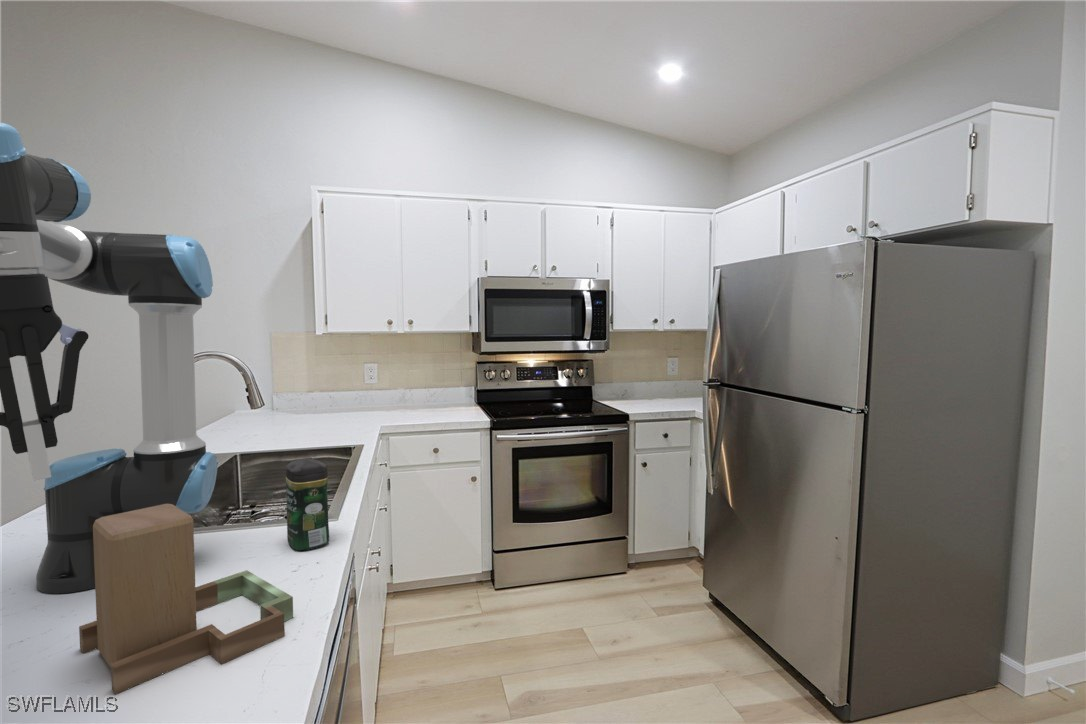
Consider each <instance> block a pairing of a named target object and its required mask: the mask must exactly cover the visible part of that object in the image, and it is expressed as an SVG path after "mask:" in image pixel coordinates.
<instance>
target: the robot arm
mask: <svg viewBox="0 0 1086 724" xmlns="http://www.w3.org/2000/svg"><path fill="white" fill-rule="evenodd" d="M91 202H92V192H91V189H90V186H89V184H88V182H87V181H86V179H85V177H84V176H82V175H81V174H80V172H79V171H77V170H76V169H74V168H72V167H71V166H70V165H69V166H68V165H67V164H64V163H63V162H62V163H61V162H60V161H56V160H55V159H54V158H50V157H46V158H45V157H41V156H37V155H32V154H29V153H27V150H26V148H25V146H24V143H23V140H22V137H21V134H20V133H19V132H18V130H17V129H16V128H15V127H14V126H12V125H10V124H8V123H4V122H1V121H0V397H1V402H2V406H3V411H4V412H3V411H0V426H1V427H5V428H6V429H7V430H8V434H9V439H10V444H11V448H12V451H13V452H14V453H15V454H16V455H18V454H23V453H27V457H28V461H29V467H30V472H31V475H32V479H33V482H36V481H40V480H44V487H43V491H44V495H45V496H44V497H45V498H44V499H45V514H46V517H45V518H46V531H47V533H46V534H47V545H46V547H45V549H44V553H43V554H42V558H41V560H40V563H39V567H38V569H37V571H36V575H35V581H36V589H37V590H38V591H39V592H40V593H45V594H68V593H75V592H76V593H77V592H81V591H88V590H91V589H95V568H94V544H93V524H94V522H95V520H97V519H99V518H101V517H104V516H109V515H114V514H119V513H124V512H129V511H133V510H138V509H143V508H148V507H153V506H158V505H163V504H173V505H174V506H176V507H178V508H179V509H181V510H182V511H184V512H186V513H187V514H194V513H199V512H201V511H202V510H204V509H205V508H206V507H207V506H208V504H209V502H210V500H211V498H212V495H213V492H214V489H215V486H216V480H217V476H218V475H217V474H218V460H217V455H216V453H213V452H211V451H207V449H206V447H207V445H206V441H204V440H203V439H202V438H200V437H199V436H198V434H197V415H196V413H197V412H196V411H197V409H196V406H197V405H196V380H195V379H196V377H195V375H196V372H195V370H196V368H195V341H194V340H195V338H194V337H195V335H194V333H195V332H194V315H195V314H196V313H197V312H198V311H199V310H200V309H202V307H203V302H202V301H203V300H202V299H206V298H210V296H211V295H212V293H213V286H214V285H213V273H212V269H211V265H210V261H209V258H208V255H207V253H206V251H205V249H204V247H203V245H202V244H201V243H200V242H199V241H198V240H197V239H195V238H192V237H189V236H181V235H173V234H169V233H168V234H151V233H125V232H110V231H91V230H89V231H87V230H80V229H78V228H76V227H73V226H71V225H68V224H67V225H66V224H61V222H67V221H72V220H76V219H78V218H80V217H81V216H83V215H84V214H85V213H86V212H87V210H88V209H89V207H90V204H91ZM49 279H50V280H52V281H55V282H57V283H60V284H63V285H66V286H70V287H73V288H76V289H80V290H84V291H88V292H92V293H96V294H101V295H108V296H109V295H110V296H123V297H124V296H127V297H128V298H127V302H128V303H127V304H128V306H129V307H130V308H131V309H132V310H134V311H135V312H136V313H137V315H138V324H139V325H138V326H139V353H140V354H139V356H140V358H139V359H140V381H141V382H140V384H141V386H140V387H141V388H140V389H141V413H142V417H141V419H142V441H140V443H138V444H137V446H135V447H134V449H133V456H127V452H126V451H125V449H123V448H110V449H102V450H96V451H95V450H94V451H91V452H87V453H86V452H85V453H81V454H77V455H73V456H69V457H65V458H63V459H59V460H57V461H54V462H52V463H51V464H50V462H49V457H48V454H47V449H49V448H55V447H57V446H58V442H59V440H58V437H57V435H58V434H57V432H56V425H55V420H56V419H57V418H58V417H60V416H61V415H64V414H69V413H70V412H71V411H72V410H73V405H74V399H75V391H76V390H75V389H76V385H77V384H76V383H77V374H78V368H79V362H80V361H79V360H80V353H81V350H82V349H83V347H84V345H85V344H86V342H87V341H88V339H89V334H88V332H86V331H85V330H83V329H81V328H75V327H72V326H69V325H67V324H65V323H63V321H62V318H61V317H60V316H59V315H58V314H57V313H56V311H55V308H54V304H53V299H52V294H51V288H50V284H49ZM58 333H59V334H60V342H61V343H62V344H63V345H64V347H63V351H62V358H61V365H60V373H59V380H58V385H57V386H58V388H57V395H56V400H55V401H56V402H53V403H51V399H50V395H49V389H48V385H47V379H46V374H45V369H44V364H43V358H42V353H43V352H44V351H45V350H46V349H47V347H48V346H49V345H50V343H52V341H53V339H55V338H56V335H57V334H58ZM14 357H15V358H16V357H24V359H25V363H26V368H27V373H28V377H29V382H30V387H31V392H32V396H33V397H32V398H33V401H34V407H35V411H36V415H37V419H36V418H35V419H29V420H23V418H22V414H21V413H22V412H21V408H20V404H19V398H18V394H17V388H16V384H15V379H14V374H13V370H12V363H11V358H14Z"/></svg>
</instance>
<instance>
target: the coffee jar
mask: <svg viewBox="0 0 1086 724" xmlns="http://www.w3.org/2000/svg"><path fill="white" fill-rule="evenodd" d="M328 479H329V473H328V467H327V465H326V464H325V463H323V462H322V461H320V460H317V459H314V458H312V457H303V458H295V459H292V460H291V461H290V462H289V463H287V465H286V466H285V488H286V489H285V490H286V492H285V493H286V496H285V498H286V517H287V518H286V522H287V523H286V524H287V525H286V529H287V531H286V534H287V536H286V537H287V542H288V544H289V546H291V547H292V548H293V549H294V550H296V551H303V550H304V551H307V550H309V551H310V549H311V550H315V549H314V548H316V549H319V548H320V547H323V546H325V545H327V544H328V542H329V541H330V527H329V505H328V502H329V501H328V482H329V480H328ZM318 547H319V548H318Z"/></svg>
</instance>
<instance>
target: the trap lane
mask: <svg viewBox="0 0 1086 724" xmlns="http://www.w3.org/2000/svg"><path fill="white" fill-rule="evenodd" d="M195 591H196V613H197V612H199V611H201V610H204V609H207V608H210V607H213V606H215V605H218V604H221V603H223V602H226V601H229V600H231V599H235V598H236V597H241V596H243V597H245V598H247V599H249V600H250V601H252V602H254V603H255V604H256V605H257V606H259V607H260V608H259V609H260V611H259V612H260V613H259V614H260V615H259V616H260V620H259V619H258V620H257V621H255V622H252V623H251V624H248V625H245V626H242V627H240V628H238V629H236V630H233V631H231V632H228V633H226V634H225V633H224V632H223V631H221V630H220V629H219V628H217V627H216V626H215V625H214V624H212V623H210V624H208V625H206V626H204V627H201V628H197V630H195V631H193V632H190V633H188V634H185V635H183V636H180V637H178V638H175V639H173V640H170V641H167V642H165V643H162V644H160V645H157V646H155V647H152V648H150V649H147V650H145V651H142V652H139V653H137V654H134V655H132V656H129V657H127V658H124V659H122V660H119V661H117V662H114V663H112V664H111V668H110V678H111V679H110V681H111V682H110V683H111V684H110V685H111V691H112V692H113V694H114V695H117V694H118V695H119V694H120V693H122V691H123V692H125V691H126V689H127V690H129V689H132V688H133V687H132V686H134V687H136V686H138V685H137V684H139V683H141V684H143V683H145V682H144V681H146V682H147V680H148V681H150V680H152V679H151V678H153V679H154V677H155V678H157V677H159V676H158V675H160V674H162V673H164V672H166V673H168V672H167V671H169V672H171V671H173V670H176V669H177V668H181V667H183V666H185V665H187V664H189V663H191V662H194V661H196V660H199V659H201V658H204V657H205V656H209V655H210V656H211V657H212V658H213V659H214V660H215V661H217V662H218V663H219V664H220V665H223V664H226V663H228V662H230V661H232V660H234V659H237V658H238V657H239V658H240V657H241V656H243V655H245V654H248V653H249V652H252V651H254V650H256V649H259V648H260V647H263V646H265V645H267V644H269V643H271V642H274V641H276V640H278V639H281V638H282V637H283V638H284V637H285V633H286V632H285V630H286V629H285V622H286V621H289V620H291V619H293V618H294V597H293V595H290V594H289V593H287V592H285V591H284V590H282V589H280V588H279V587H276V586H275V585H274V584H271V583H269V582H268V581H267V580H264V579H263V578H261V577H259V576H258V575H256V574H254V573H253V572H251V571H249V570H247V569H246V570H243V571H240V572H238V573H237V572H236V573H234V574H231V575H228V576H225V577H222V578H219V579H216V580H212V581H211V582H208V583H204V584H201V585H199V586H195ZM78 630H79V633H78V634H79V650H80V651H81V653H82V654H86V653H88V652H90V650H91V651H94V650H96V649H98V641H97V620H94V621H92V622H87V623H84V624H82V625H79V626H78ZM95 648H96V649H95ZM93 649H94V650H93ZM182 665H183V666H182ZM175 668H176V669H175ZM170 670H171V671H170ZM164 674H165V673H164ZM162 675H163V674H162ZM156 676H157V677H156ZM160 676H161V675H160ZM149 679H150V680H149ZM142 682H143V683H142ZM135 685H136V686H135ZM139 685H140V684H139ZM131 687H132V688H131ZM128 688H129V689H128ZM124 690H125V691H124Z"/></svg>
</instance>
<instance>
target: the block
mask: <svg viewBox="0 0 1086 724" xmlns="http://www.w3.org/2000/svg"><path fill="white" fill-rule="evenodd" d="M194 528H195V527H194V519H193V517H192V515H190V513H188V514H187V513H186V512H184V511H182V510H181V509H179V508H178V507H176V506H174V505H173V504H163V505H158V506H153V507H148V508H143V509H138V510H133V511H129V512H124V513H119V514H114V515H109V516H104V517H101V518H99V519H97V520H95V522H94V524H93V544H94V568H95V588H94V590H95V591H94V592H95V609H96V610H95V611H96V614H95V615H96V621H97V641H98V648H97V650H98V651H99V653H100V655H101V656H102V657H103V659H104V660H105V662H106V664H107V665H108V667H109V668H110V669H111V664H112V663H114V662H117V661H119V660H122V659H124V658H127V657H129V656H132V655H134V654H137V653H139V652H142V651H145V650H147V649H150V648H152V647H155V646H157V645H160V644H162V643H165V642H167V641H170V640H173V639H175V638H178V637H180V636H183V635H185V634H188V633H190V632H193V631H195V630H198V626H197V612H196V591H195V587H196V570H195V569H196V568H195V567H196V565H195V562H196V561H195V536H194V534H195V532H194V531H195V530H194Z"/></svg>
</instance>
